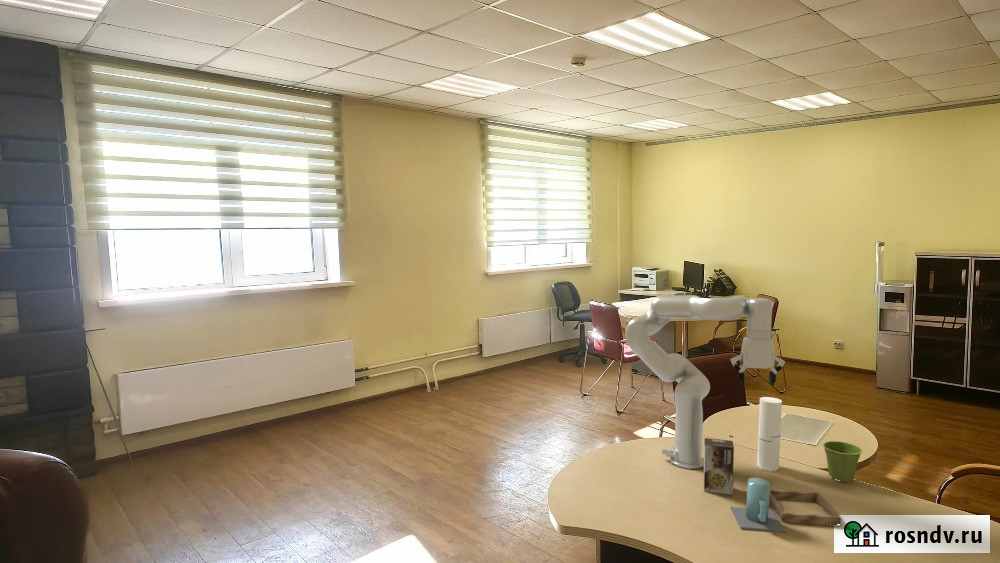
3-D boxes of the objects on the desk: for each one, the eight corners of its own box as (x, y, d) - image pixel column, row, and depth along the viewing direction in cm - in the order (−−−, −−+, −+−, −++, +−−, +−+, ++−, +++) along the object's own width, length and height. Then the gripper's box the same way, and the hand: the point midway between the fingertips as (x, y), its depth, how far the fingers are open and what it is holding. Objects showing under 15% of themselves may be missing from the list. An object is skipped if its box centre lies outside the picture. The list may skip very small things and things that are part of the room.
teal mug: (743, 511, 170) (745, 476, 169) (764, 513, 169) (766, 478, 168) (751, 527, 161) (753, 490, 160) (773, 529, 160) (776, 492, 159)
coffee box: (731, 487, 188) (733, 440, 186) (733, 495, 182) (734, 447, 180) (702, 483, 191) (704, 437, 189) (703, 491, 185) (704, 444, 183)
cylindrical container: (782, 471, 200) (785, 403, 198) (762, 471, 200) (765, 403, 198) (773, 463, 207) (776, 397, 205) (753, 463, 207) (756, 396, 205)
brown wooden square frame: (781, 521, 165) (782, 513, 165) (765, 496, 181) (765, 489, 181) (840, 526, 163) (840, 518, 163) (818, 500, 179) (818, 492, 178)
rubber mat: (740, 528, 161) (741, 527, 161) (730, 508, 173) (730, 506, 173) (785, 532, 160) (785, 530, 160) (771, 511, 171) (771, 509, 171)
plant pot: (826, 468, 202) (828, 438, 201) (864, 478, 194) (866, 447, 193) (816, 478, 194) (818, 447, 193) (855, 489, 186) (857, 456, 185)
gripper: (781, 333, 193) (779, 382, 194) (729, 332, 195) (727, 380, 197) (789, 337, 185) (787, 388, 187) (734, 336, 188) (732, 385, 189)
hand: (756, 383), depth 192 cm, fingers open, 9 cm apart
